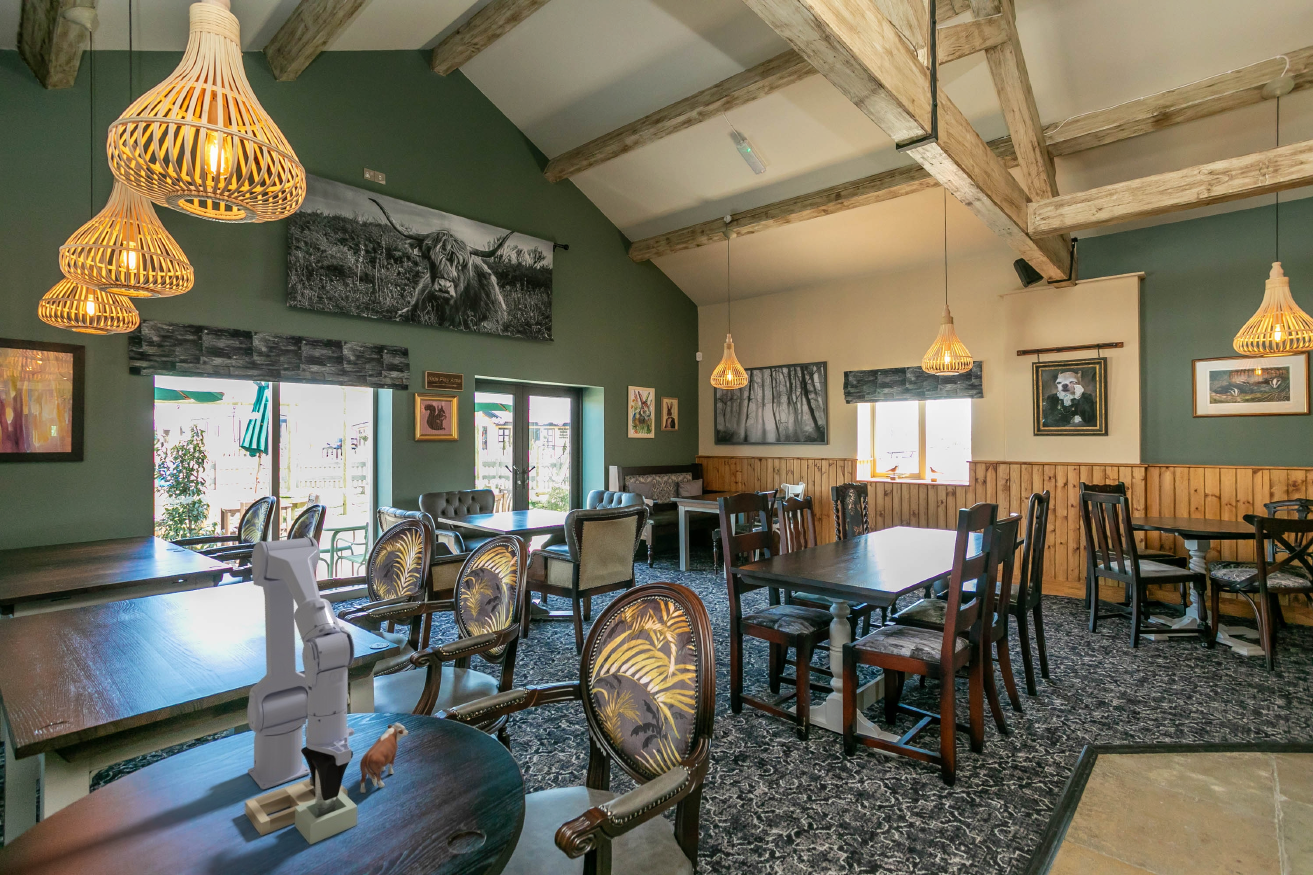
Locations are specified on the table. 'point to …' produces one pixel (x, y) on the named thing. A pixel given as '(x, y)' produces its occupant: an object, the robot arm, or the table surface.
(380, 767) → the bull figurine
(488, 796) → the table surface
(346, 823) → the grey-green hollow square block
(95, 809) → the table surface
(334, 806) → the silver metal cylinder
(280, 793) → the socket block
